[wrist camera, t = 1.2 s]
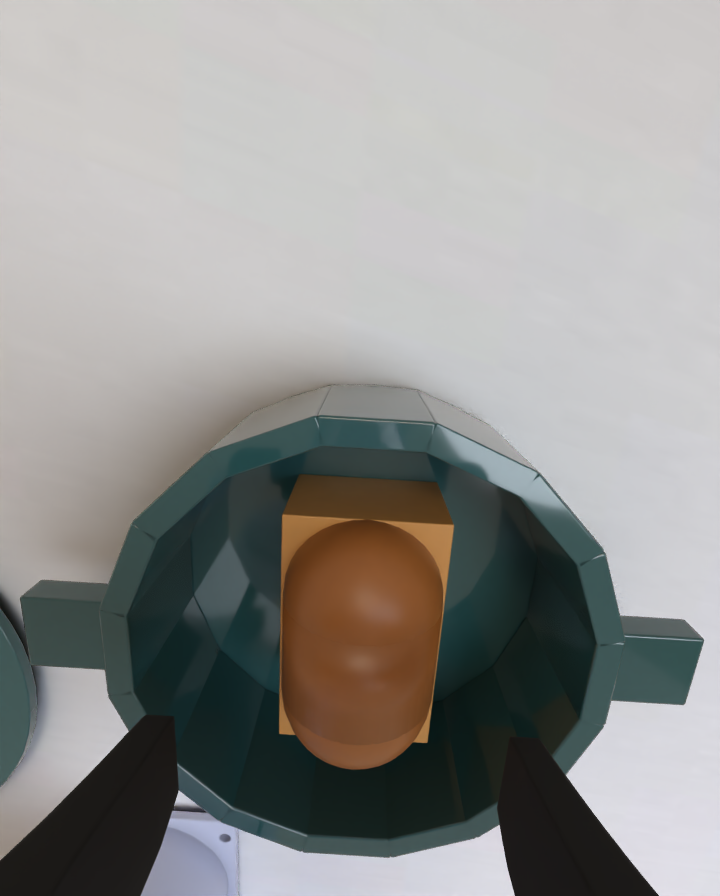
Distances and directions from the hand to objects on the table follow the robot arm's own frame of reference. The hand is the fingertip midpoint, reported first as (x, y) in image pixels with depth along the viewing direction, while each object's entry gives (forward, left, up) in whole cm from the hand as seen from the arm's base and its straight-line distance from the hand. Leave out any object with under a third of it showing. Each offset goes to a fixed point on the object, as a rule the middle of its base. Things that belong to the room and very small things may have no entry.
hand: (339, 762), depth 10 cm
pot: (-1, 0, -9) cm, 9 cm away
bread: (-1, 0, -8) cm, 8 cm away
